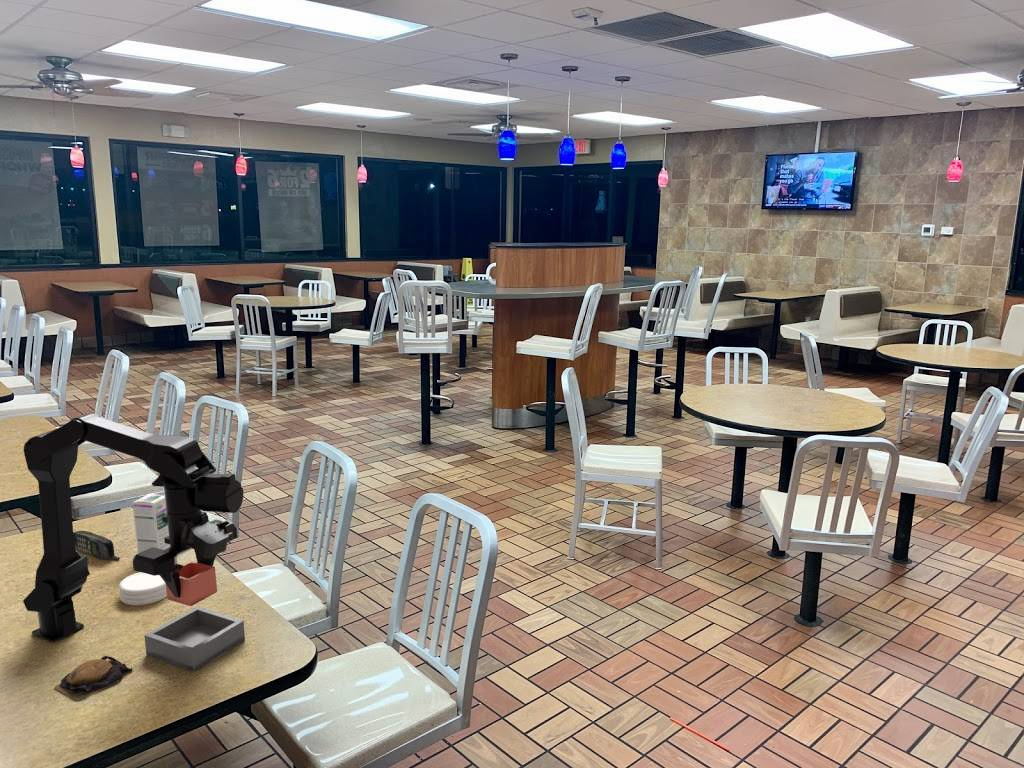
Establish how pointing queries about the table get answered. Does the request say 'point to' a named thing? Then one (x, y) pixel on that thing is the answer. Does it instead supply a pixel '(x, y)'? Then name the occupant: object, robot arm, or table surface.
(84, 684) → the bread roll
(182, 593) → the small crate
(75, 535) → the mobile phone
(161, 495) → the syrup box
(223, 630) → the big crate
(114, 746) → the table surface
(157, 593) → the white round container
